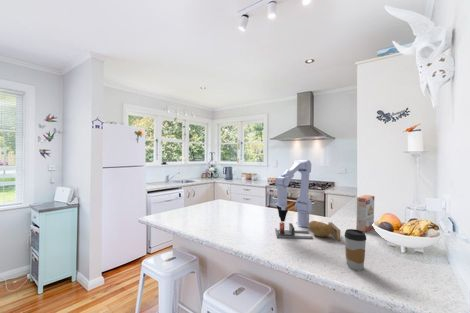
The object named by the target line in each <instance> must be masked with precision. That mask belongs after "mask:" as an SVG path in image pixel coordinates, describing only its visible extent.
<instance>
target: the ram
mask: <svg viewBox="0 0 470 313" xmlns="http://www.w3.org/2000/svg"><path fill="white" fill-rule="evenodd" d="M288 227H289V228H288V229H287V230H286V229H285V222H281V221H280V222H279V229H277V232H278V235H284V236H295V233H294V230H295V226H294V225H293V223H290V222H289V224H288Z"/></svg>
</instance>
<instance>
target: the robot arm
mask: <svg viewBox="0 0 470 313" xmlns="http://www.w3.org/2000/svg"><path fill="white" fill-rule="evenodd" d="M297 172H299V173H300V174H301V175H300V176H301V177H300V178H301V179H300V190H299V191H300V192H299V197H298V198H297V199H296V202H295V204H294V208H295V210H296V212H297V221H295V223H296V225H297V227H300V228H309V223H310V213H311V212H312V210H313V206H312V200H311V199H310V198H309V187H310V186H309V185H310V183H309V182H310V173H312V163H311V161H310V160H309V159H295V160H294V161H293V165H292V166H291V167H290V169H285V171H284V172H283V173H282V174H281V175H280V176H277V177H276V178H275V180H274V184H275V188H276V189H277V190H276V193H277V194H276V197H277V198H276V203H275V204H274V206H276V209H277V210H278V217H279V218H280V222H283V223H285V222H286V219H287V215H288V212H289V210H288V209H286V207H287V206H288V186H289V185H290V181H291V180H292V179H293V178H294V176H295V173H297Z"/></svg>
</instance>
